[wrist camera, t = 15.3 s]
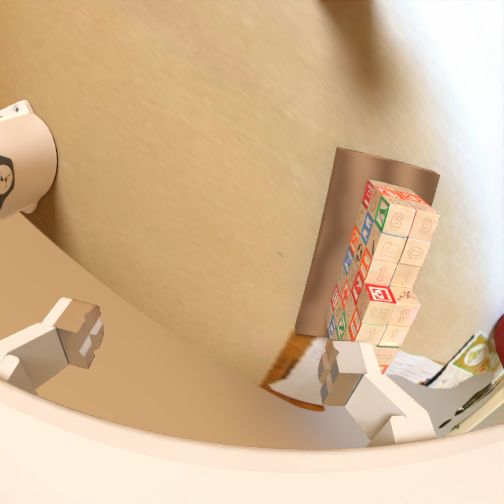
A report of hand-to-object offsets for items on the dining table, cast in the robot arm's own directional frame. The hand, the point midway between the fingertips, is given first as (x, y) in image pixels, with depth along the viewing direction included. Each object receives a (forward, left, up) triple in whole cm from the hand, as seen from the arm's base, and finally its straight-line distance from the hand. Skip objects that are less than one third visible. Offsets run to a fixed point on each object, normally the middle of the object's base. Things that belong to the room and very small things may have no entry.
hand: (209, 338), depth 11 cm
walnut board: (+16, -11, -31) cm, 37 cm away
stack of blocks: (+16, -11, -29) cm, 35 cm away
